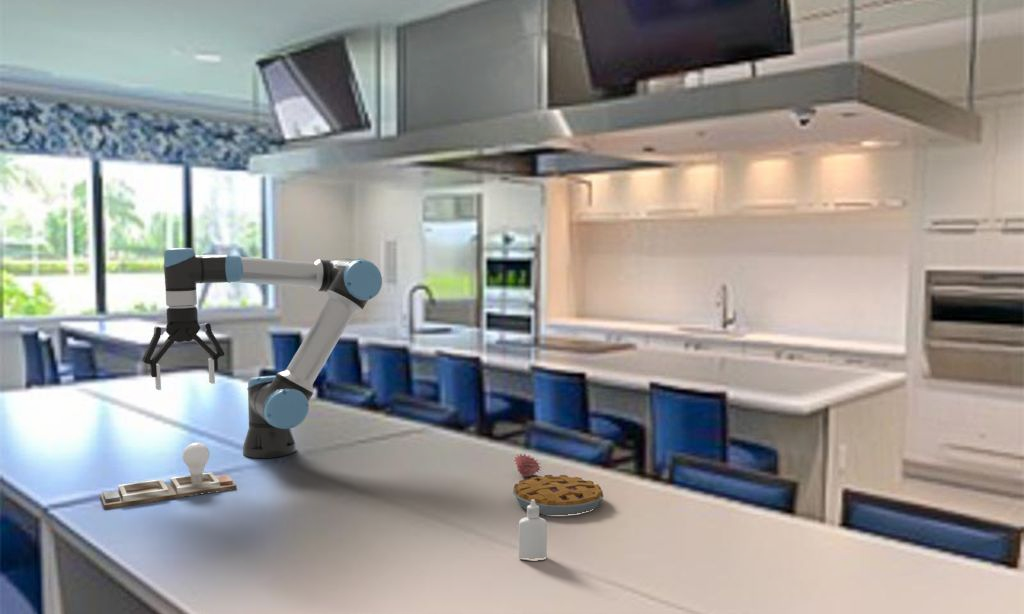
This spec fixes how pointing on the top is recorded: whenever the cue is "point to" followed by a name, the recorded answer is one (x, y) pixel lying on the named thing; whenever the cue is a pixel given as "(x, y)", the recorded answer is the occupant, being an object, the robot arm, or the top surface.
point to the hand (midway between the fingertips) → (185, 386)
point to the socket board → (164, 490)
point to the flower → (527, 465)
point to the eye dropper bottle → (532, 534)
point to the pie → (558, 494)
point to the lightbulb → (196, 460)
